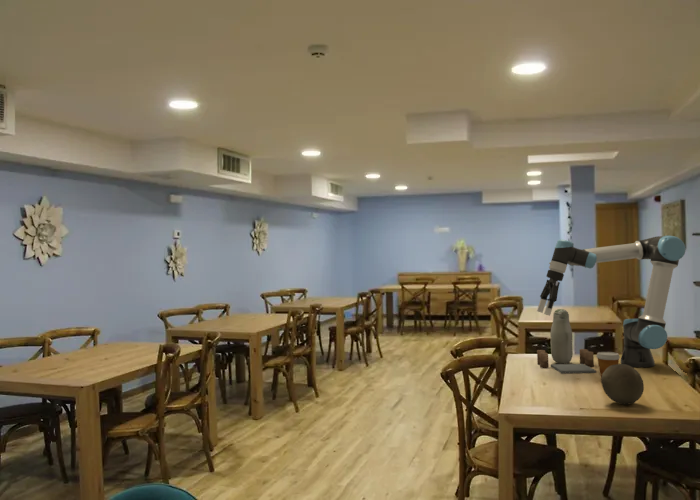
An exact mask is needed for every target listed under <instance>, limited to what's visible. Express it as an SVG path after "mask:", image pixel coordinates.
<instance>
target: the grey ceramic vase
mask: <svg viewBox="0 0 700 500" xmlns="http://www.w3.org/2000/svg"><path fill="white" fill-rule="evenodd" d="M552 317H553V319H552V323H551V328H550V352H551V358H552V360H553V362H555V364H570V363H571V361H572V358H573V329H572V326H571V323H570V314H569V312H568V311H567V310H566V309H563V308H557V309H555V310H554V312H553V315H552Z"/></svg>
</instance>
